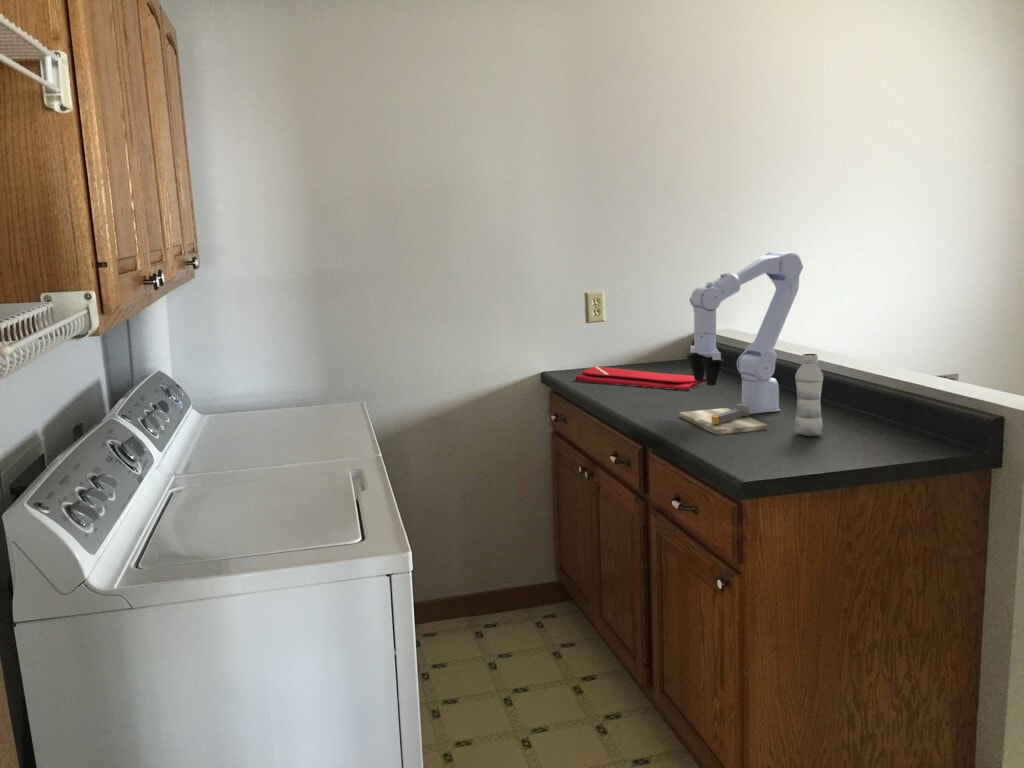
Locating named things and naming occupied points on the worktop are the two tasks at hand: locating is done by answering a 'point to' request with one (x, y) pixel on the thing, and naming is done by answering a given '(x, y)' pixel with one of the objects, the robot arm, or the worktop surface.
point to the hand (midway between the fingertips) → (705, 382)
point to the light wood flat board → (731, 426)
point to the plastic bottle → (808, 396)
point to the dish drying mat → (637, 378)
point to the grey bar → (732, 414)
